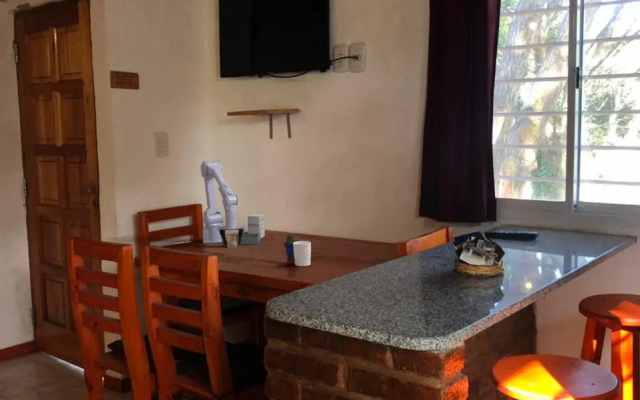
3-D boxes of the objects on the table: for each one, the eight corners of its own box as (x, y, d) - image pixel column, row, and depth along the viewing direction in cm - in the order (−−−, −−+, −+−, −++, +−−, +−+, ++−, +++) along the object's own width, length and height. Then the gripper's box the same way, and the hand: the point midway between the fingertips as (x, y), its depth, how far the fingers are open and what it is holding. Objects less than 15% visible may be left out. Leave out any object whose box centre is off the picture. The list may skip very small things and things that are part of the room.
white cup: (301, 262, 297) (301, 240, 295) (315, 264, 292) (314, 241, 290) (290, 265, 291) (289, 243, 289) (303, 267, 286) (302, 244, 284)
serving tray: (227, 245, 343) (227, 238, 343) (231, 240, 357) (231, 234, 356) (258, 244, 343) (257, 237, 342) (260, 239, 357) (260, 233, 356)
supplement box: (247, 238, 362) (246, 215, 361) (253, 235, 369) (252, 213, 368) (260, 238, 360) (259, 215, 359) (265, 236, 367) (264, 213, 366)
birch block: (227, 247, 337) (226, 236, 336) (228, 246, 341) (228, 234, 341) (236, 247, 337) (235, 236, 336) (237, 245, 341) (236, 234, 341)
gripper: (215, 219, 333) (217, 245, 335) (244, 218, 333) (245, 245, 335) (217, 217, 340) (219, 243, 342) (245, 216, 340) (246, 242, 342)
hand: (232, 244), depth 339 cm, fingers open, 7 cm apart
